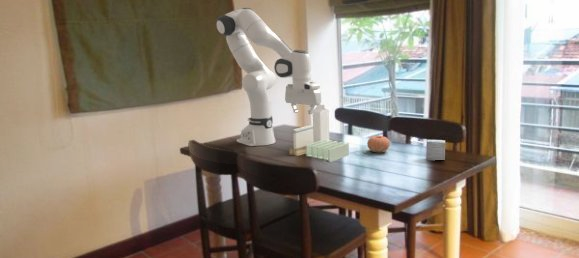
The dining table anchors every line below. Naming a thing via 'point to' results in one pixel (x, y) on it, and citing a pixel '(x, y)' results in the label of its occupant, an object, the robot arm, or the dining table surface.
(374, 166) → the dining table surface
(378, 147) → the orange rounded piece
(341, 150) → the rack
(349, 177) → the dining table surface
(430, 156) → the medicine box
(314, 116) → the milk
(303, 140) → the plate
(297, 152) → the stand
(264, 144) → the robot arm
